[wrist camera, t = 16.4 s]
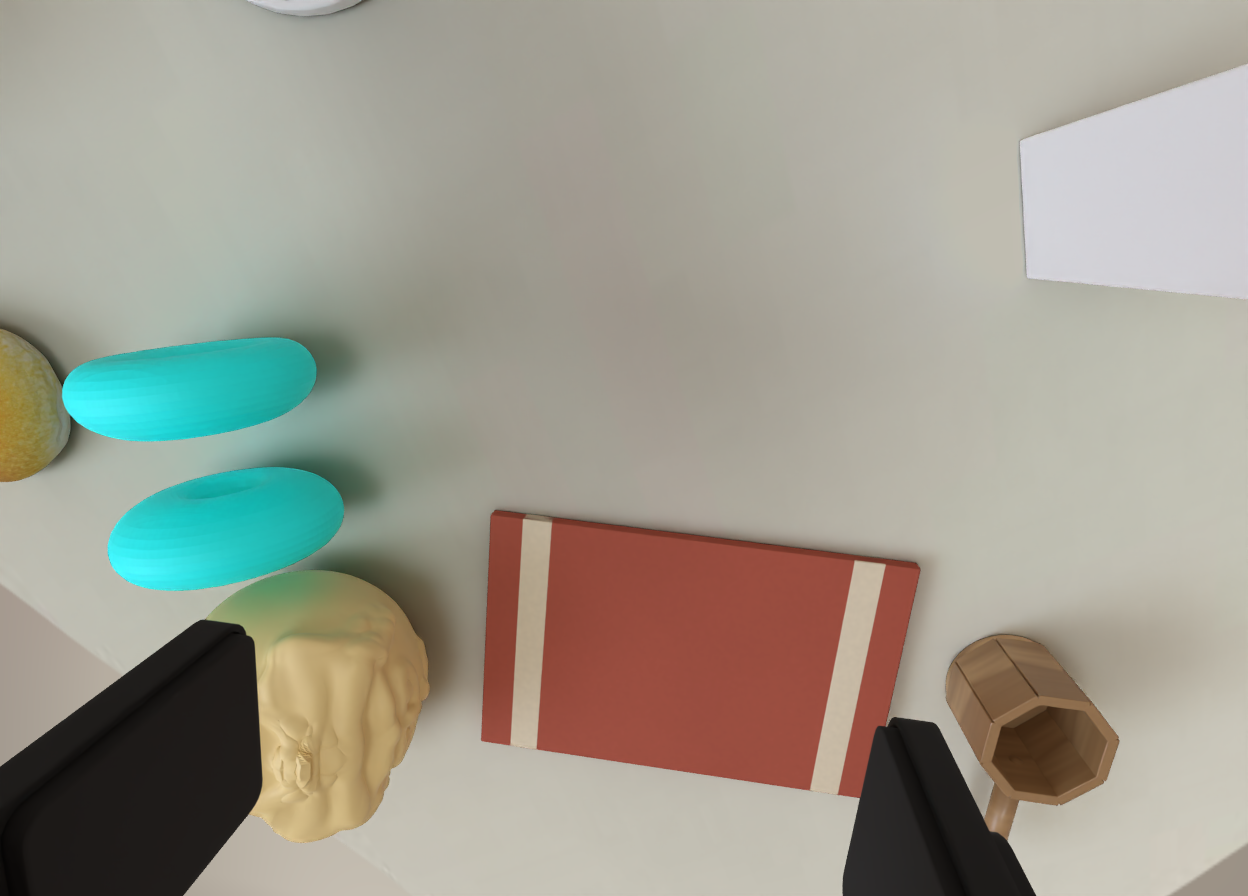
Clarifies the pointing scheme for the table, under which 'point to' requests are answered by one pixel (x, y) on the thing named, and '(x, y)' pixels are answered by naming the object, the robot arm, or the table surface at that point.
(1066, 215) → the milk
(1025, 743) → the scoop
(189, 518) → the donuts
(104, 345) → the table surface
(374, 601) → the gathered cream pouch
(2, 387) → the bread roll
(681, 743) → the towel
